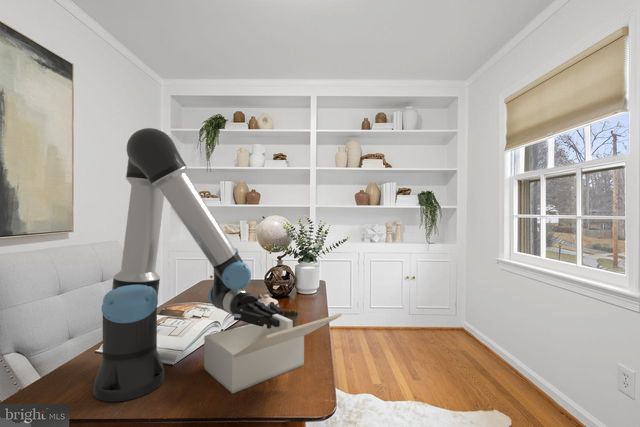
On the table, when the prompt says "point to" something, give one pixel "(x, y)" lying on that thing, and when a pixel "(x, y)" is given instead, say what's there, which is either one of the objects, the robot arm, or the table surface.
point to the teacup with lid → (268, 300)
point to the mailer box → (249, 356)
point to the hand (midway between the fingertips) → (290, 326)
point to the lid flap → (286, 335)
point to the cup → (291, 316)
